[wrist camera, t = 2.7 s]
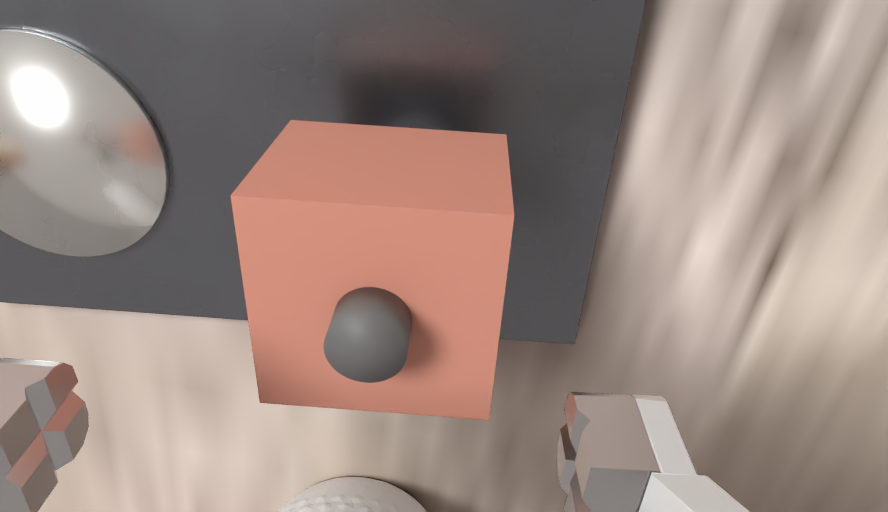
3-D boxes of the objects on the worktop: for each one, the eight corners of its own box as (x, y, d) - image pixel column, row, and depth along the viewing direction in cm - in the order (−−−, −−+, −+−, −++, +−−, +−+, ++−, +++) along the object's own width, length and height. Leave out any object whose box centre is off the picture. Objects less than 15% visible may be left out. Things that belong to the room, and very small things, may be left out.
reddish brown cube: (506, 134, 15) (517, 242, 10) (487, 309, 18) (489, 455, 13) (290, 119, 15) (209, 221, 10) (304, 296, 18) (245, 436, 13)
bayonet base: (641, -33, 17) (735, 17, 10) (570, 323, 23) (603, 486, 17) (-165, -84, 17) (-531, -63, 11) (-17, 280, 23) (-196, 424, 17)
